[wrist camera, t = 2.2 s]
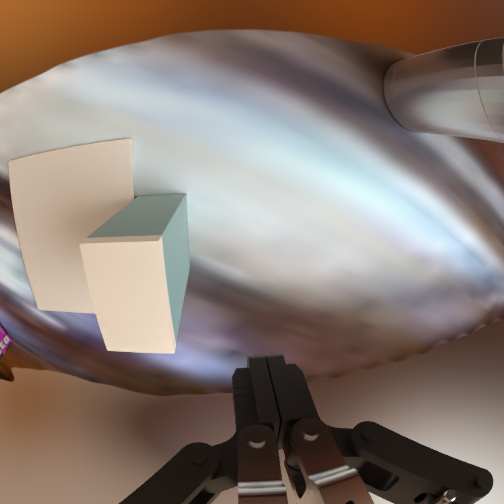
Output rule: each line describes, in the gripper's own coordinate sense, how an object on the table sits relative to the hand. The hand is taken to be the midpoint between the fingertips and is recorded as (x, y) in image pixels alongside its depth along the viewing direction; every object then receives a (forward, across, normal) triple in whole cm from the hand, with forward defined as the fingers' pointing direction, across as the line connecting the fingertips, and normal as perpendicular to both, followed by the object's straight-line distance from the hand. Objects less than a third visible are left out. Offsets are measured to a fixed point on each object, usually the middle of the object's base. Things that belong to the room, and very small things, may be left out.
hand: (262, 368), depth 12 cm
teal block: (+20, +7, 0) cm, 21 cm away
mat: (+20, +19, 0) cm, 27 cm away
